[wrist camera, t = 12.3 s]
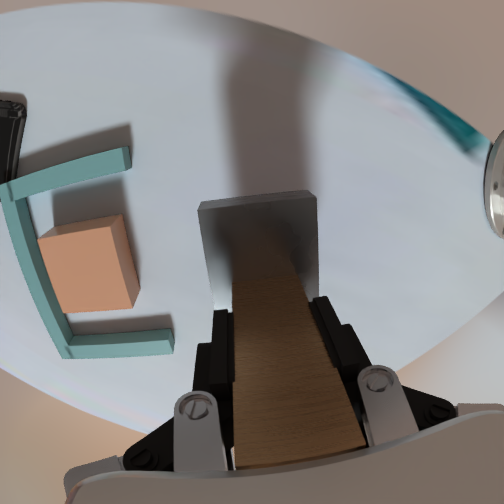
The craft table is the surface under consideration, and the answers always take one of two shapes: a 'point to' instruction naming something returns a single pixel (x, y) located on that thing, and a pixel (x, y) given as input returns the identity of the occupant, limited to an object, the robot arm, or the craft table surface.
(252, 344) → the pusher
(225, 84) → the craft table surface
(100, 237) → the tile
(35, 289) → the frame
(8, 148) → the phone
